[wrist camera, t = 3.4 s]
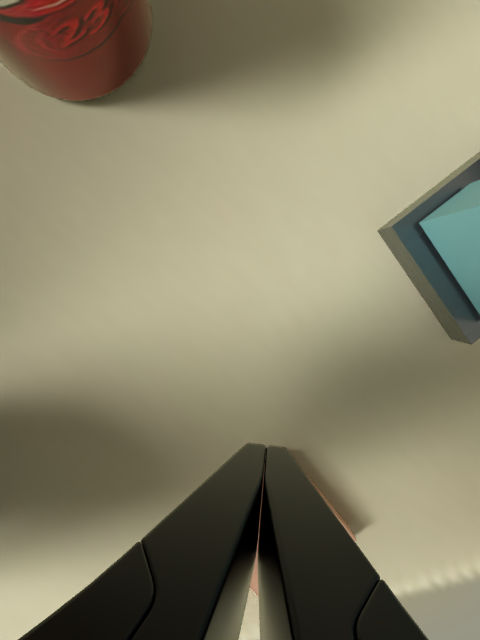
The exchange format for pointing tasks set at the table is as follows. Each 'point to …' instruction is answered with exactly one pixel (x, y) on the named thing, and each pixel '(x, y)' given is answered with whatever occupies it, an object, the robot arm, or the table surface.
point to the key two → (459, 238)
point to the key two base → (435, 256)
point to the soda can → (74, 44)
